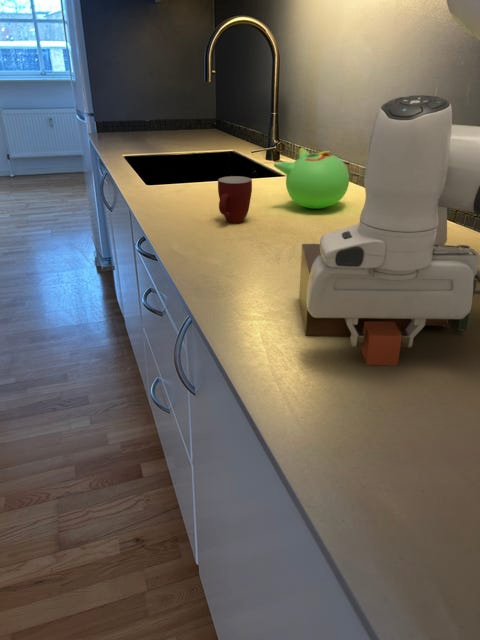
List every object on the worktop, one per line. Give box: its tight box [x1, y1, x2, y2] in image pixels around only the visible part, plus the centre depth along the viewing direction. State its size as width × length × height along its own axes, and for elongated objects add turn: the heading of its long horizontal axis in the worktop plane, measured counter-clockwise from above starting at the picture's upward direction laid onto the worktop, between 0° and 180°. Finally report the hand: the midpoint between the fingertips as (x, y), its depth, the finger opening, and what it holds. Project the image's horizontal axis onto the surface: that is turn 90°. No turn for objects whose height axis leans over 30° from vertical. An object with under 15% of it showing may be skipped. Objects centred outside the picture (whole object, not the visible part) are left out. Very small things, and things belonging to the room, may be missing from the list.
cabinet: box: [298, 243, 410, 337], centre depth 77 cm, size 15×13×10 cm
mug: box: [217, 175, 253, 224], centre depth 122 cm, size 10×8×10 cm
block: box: [360, 321, 402, 366], centre depth 67 cm, size 4×4×4 cm
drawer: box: [410, 270, 480, 331], centre depth 77 cm, size 18×11×8 cm, turn 88°
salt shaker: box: [434, 206, 448, 245], centre depth 104 cm, size 6×6×13 cm
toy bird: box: [273, 147, 350, 210], centre depth 133 cm, size 18×17×15 cm
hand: (380, 344), depth 67 cm, fingers open, 5 cm apart
